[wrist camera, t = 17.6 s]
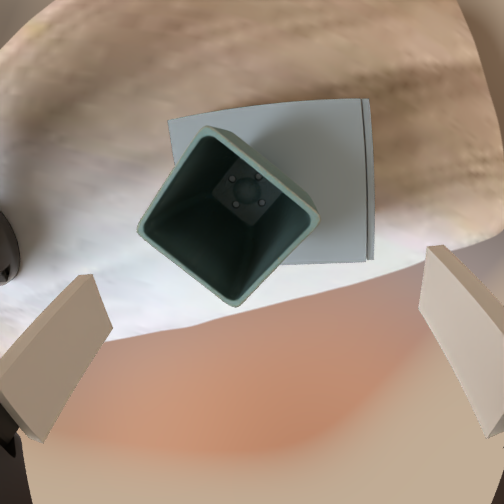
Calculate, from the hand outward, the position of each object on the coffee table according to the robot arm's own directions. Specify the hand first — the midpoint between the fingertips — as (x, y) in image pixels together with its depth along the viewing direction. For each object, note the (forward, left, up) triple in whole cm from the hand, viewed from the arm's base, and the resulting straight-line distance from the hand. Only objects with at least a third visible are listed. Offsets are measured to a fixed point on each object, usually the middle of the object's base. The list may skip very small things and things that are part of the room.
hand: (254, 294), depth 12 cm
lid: (+1, 0, -19) cm, 19 cm away
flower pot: (-1, 0, -17) cm, 17 cm away
